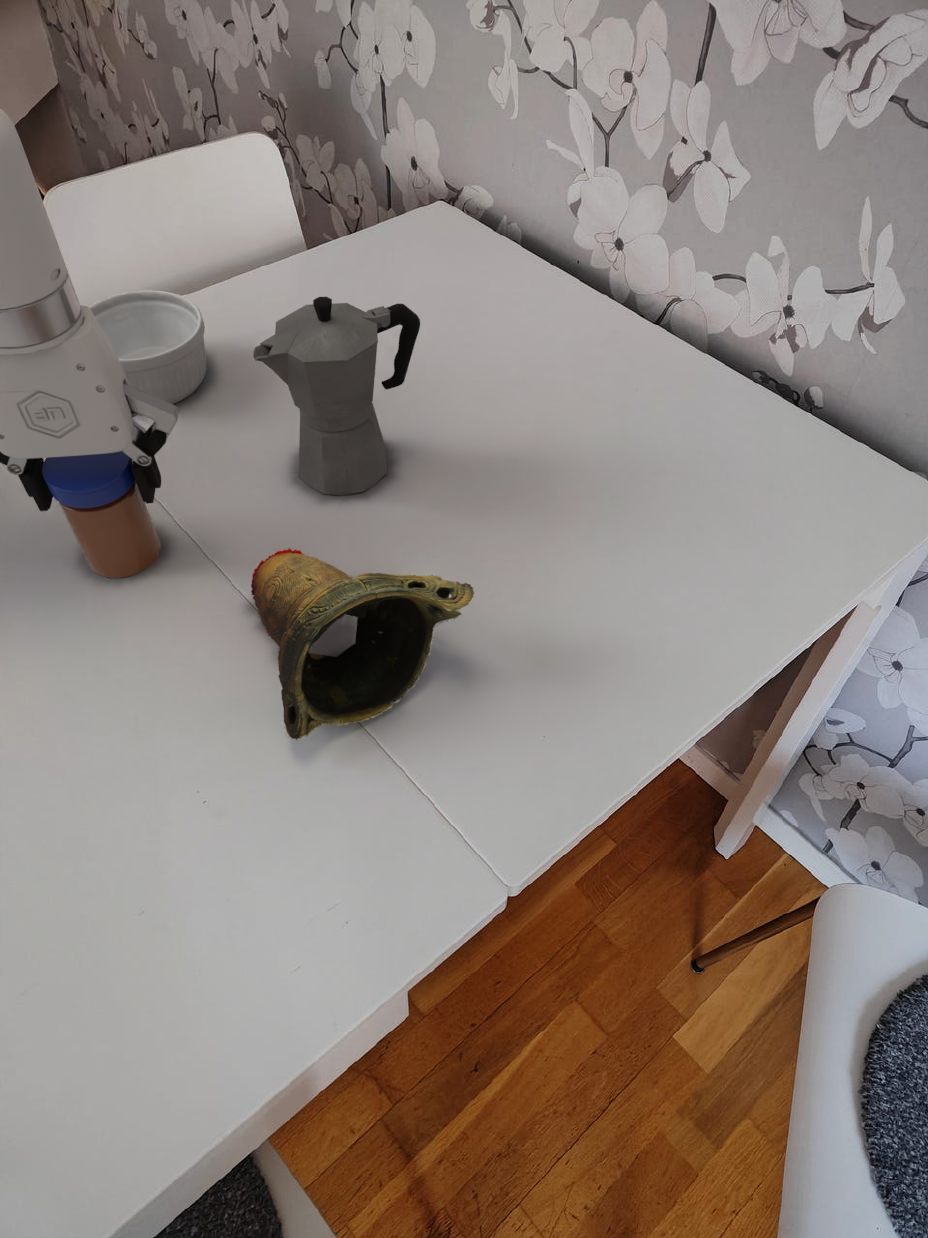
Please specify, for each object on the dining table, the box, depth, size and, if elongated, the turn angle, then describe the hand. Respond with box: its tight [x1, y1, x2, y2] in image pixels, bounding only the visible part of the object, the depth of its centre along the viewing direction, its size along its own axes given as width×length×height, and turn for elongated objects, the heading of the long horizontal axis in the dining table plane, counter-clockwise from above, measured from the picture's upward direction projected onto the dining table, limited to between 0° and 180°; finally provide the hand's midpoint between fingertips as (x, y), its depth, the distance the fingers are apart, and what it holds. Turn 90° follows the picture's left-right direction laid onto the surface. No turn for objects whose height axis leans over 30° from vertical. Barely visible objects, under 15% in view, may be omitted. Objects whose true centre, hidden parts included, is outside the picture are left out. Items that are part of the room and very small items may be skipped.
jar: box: [58, 480, 161, 579], centre depth 75 cm, size 6×6×10 cm
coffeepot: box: [252, 296, 421, 496], centre depth 79 cm, size 15×9×18 cm, turn 118°
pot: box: [250, 547, 475, 741], centre depth 68 cm, size 17×11×18 cm
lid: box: [42, 451, 135, 508], centre depth 71 cm, size 7×7×2 cm
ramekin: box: [88, 289, 207, 405], centre depth 92 cm, size 13×13×7 cm
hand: (99, 495), depth 73 cm, fingers open, 7 cm apart
